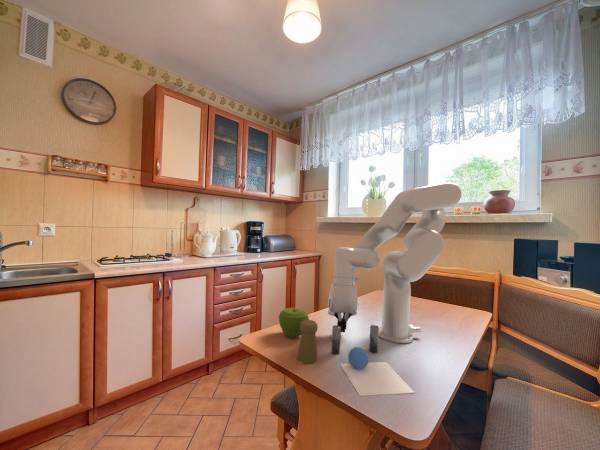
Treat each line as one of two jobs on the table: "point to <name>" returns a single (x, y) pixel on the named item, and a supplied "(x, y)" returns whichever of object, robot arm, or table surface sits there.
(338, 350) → the post
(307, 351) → the olive pawn shape
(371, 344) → the post
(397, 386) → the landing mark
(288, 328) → the apple
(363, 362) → the ball
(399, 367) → the table surface
